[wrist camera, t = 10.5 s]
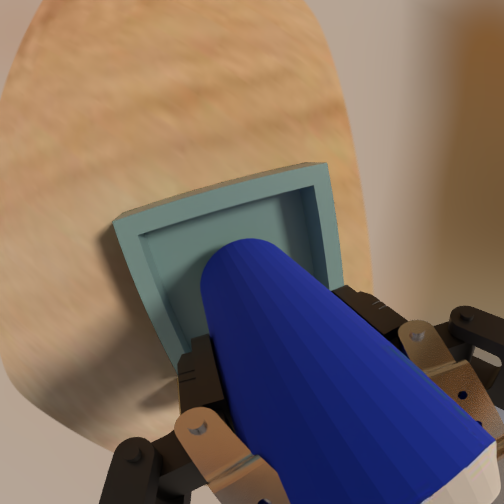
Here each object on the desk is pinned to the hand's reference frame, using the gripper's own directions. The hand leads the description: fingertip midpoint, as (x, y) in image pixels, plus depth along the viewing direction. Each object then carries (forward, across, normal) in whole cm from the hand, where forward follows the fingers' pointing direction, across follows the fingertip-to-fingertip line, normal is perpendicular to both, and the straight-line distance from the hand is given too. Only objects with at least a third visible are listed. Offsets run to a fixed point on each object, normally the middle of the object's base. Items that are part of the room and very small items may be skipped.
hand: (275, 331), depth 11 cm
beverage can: (+6, 0, 0) cm, 6 cm away
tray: (+7, 0, 0) cm, 7 cm away
